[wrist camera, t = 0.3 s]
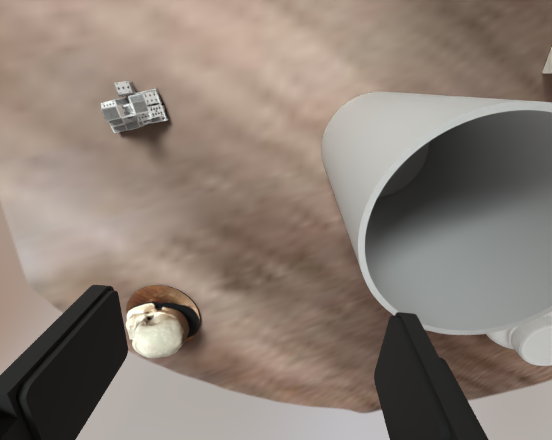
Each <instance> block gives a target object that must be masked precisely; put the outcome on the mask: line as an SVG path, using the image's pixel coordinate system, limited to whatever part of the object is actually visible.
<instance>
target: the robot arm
mask: <svg viewBox="0 0 552 440" xmlns="http://www.w3.org/2000/svg"><path fill="white" fill-rule="evenodd" d="M127 353H128V346H127V340H126V335H125V329H124V324H123V318H122V313H121V307H120V302H119V296H118V293H117V291H114V289H113V288H112V287H111V286H103V285H92V286H91V287H90V288H89V289H88V290H87V291H86V292H85V293H84V294H83V295H82V296H80V297H79V298H78V299H77V300H76V301H75V302H74V303H73V304H72V305H71V306H70V307H69V308H68V309H67V310H66V311H65V312H64V313H63V314H62V315H61V316H60V317H59V318H58V319H57V320H56V321H55V322H54V323H53V324H52V325H51V326H50V327H49V328H48V329H47V330H46V331H45V332H44V333H43V334H42V335H41V336H40V337H39V338H38V339H37V340H36V341H35V342H34V343H33V344H32V345H31V346H30V347H29V348H28V349H27V350H26V351H25V352H24V353H23V354H21V356H19V357H18V359H16V360H15V361H14V362H13V363H12V364H11V366H9V367H8V368H7V369H6V370H5V371H4V372H3V373H2V374H1V375H0V440H75V439H76V438H77V436H78V434H79V433H80V431H81V429H82V428H83V426H84V425H85V423H86V421H87V420H88V418H89V417H90V415H91V413H92V412H93V410H94V409H95V407H96V405H97V404H98V402H99V401H100V399H101V397H102V396H103V394H104V393H105V391H106V389H107V388H108V386H109V384H110V383H111V381H112V380H113V378H114V376H115V375H116V373H117V372H118V370H119V368H120V367H121V365H122V363H123V362H124V360H125V358H126V356H127ZM374 379H375V385H376V389H377V393H378V396H379V400H380V404H381V408H382V411H383V415H384V419H385V423H386V427H387V430H388V434H389V438H390V440H488V438H487V436H486V434H485V433H484V431H483V429H482V427H481V425H480V423H479V421H478V420H477V418H476V416H475V414H474V412H473V410H472V409H471V407H470V405H469V403H468V401H467V399H466V397H465V396H464V394H463V392H462V390H461V388H460V386H459V384H458V383H457V381H456V379H455V377H454V375H453V373H452V372H451V370H450V368H449V366H448V364H447V363H446V361H445V360H444V359H442V358H439V356H438V355H437V353H436V351H435V349H434V347H433V345H432V343H431V341H430V339H429V337H428V336H427V334H426V332H425V330H424V328H423V326H422V324H421V322H420V320H419V318H418V317H417V315H416V314H413V313H402V312H397V313H396V314H395V316H391V317H390V319H389V322H388V326H387V329H386V333H385V337H384V340H383V344H382V348H381V351H380V355H379V358H378V362H377V366H376V369H375V375H374Z"/></svg>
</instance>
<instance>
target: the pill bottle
mask: <svg viewBox="0 0 552 440" xmlns="http://www.w3.org/2000/svg"><path fill="white" fill-rule="evenodd" d="M486 335H487V336H488V337H489V338H490V339H491V340H493V341H494V342H495V343H497V344H499V345H501V346H503V347H506V348H510V349H515V350H516V351H517V353H518V354H519V355H520V356H521V357H522V358H523V359H524V360H525V361H526V362H528V363H530V364H533V365H538V366H549V365H552V312H550V313H548V314H546V315H544V316H542V317H540V318H538V319H535V320H533V321H531V322H528V323H526V324H523V325H520V326H517V327H514V328H510V329H506V330H502V331H498V332H493V333H486Z"/></svg>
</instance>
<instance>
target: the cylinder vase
mask: <svg viewBox="0 0 552 440" xmlns="http://www.w3.org/2000/svg"><path fill="white" fill-rule="evenodd" d="M322 160H323V164H324V167H325V170H326V172H327V175H328V178H329V181H330V184H331V187H332V189H333V192H334V195H335V198H336V201H337V203H338V206H339V209H340V212H341V215H342V218H343V220H344V223H345V226H346V229H347V232H348V235H349V237H350V240H351V243H352V246H353V249H354V251H355V254H356V257H357V260H358V263H359V266H360V268H361V271H362V274H363V277H364V279H365V281H366V284H367V286H368V287H369V289H370V291H371V292H372V294H373V295H374V296H375V298H376V299H377V300H378V301H379V302H380V304H381V305H382V306H383V307H385V308H386V309H387V310H388V311H389V312H390V313H392V314H393V315H395V314H396V313H397V312H402V313H413V314H416V315H417V317H418V318H419V320H420V322H421V324H422V326H423V328H424V330H428V331H432V332H436V333H442V334H450V335H477V334H486V333H493V332H498V331H502V330H506V329H510V328H514V327H517V326H520V325H523V324H526V323H528V322H531V321H533V320H535V319H538V318H540V317H542V316H544V315H546V314H548V313H550V312H552V103H550V102H540V101H525V100H509V99H493V98H477V97H461V96H446V95H430V94H414V93H398V92H370V93H366V94H363V95H360V96H358V97H355V98H353V99H352V100H350V101H348V102H347V103H346V104H344V105H343V106H342V107H341V108H340V109H339V110H338V111H337V112H336V113H335V114H334V116H333V117H332V118H331V120H330V122H329V123H328V125H327V127H326V130H325V132H324V136H323V140H322Z"/></svg>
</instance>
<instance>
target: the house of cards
mask: <svg viewBox="0 0 552 440" xmlns="http://www.w3.org/2000/svg"><path fill="white" fill-rule="evenodd" d="M114 85H115V88H116V90H117V93H118V95H119V97H123V96H126V95H128V94H130V95H128V98H121V99H115V100H112V101H108V102H102V103H101V107H102V108H101V111H102V113H103V116H104V118H105V120H106V121H109V123H110V125H111V127H112V129H113V131H114V133H116V134H117V133H120V132H122V131H126V130H132V129H137V128H141V127H143V125H146V124H149V123H156V122H162V121H167V120H168V117H167V114H166V111H165V108H164V105H161V104H162V101H161V98H160V96H159V93H158V90H157V88H154V89H152V90H148V91H144V92H142V93H141V92H138V93H136V91H135V88H134V85H133V83H132V82H128V81H125V82H116V83H114Z"/></svg>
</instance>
